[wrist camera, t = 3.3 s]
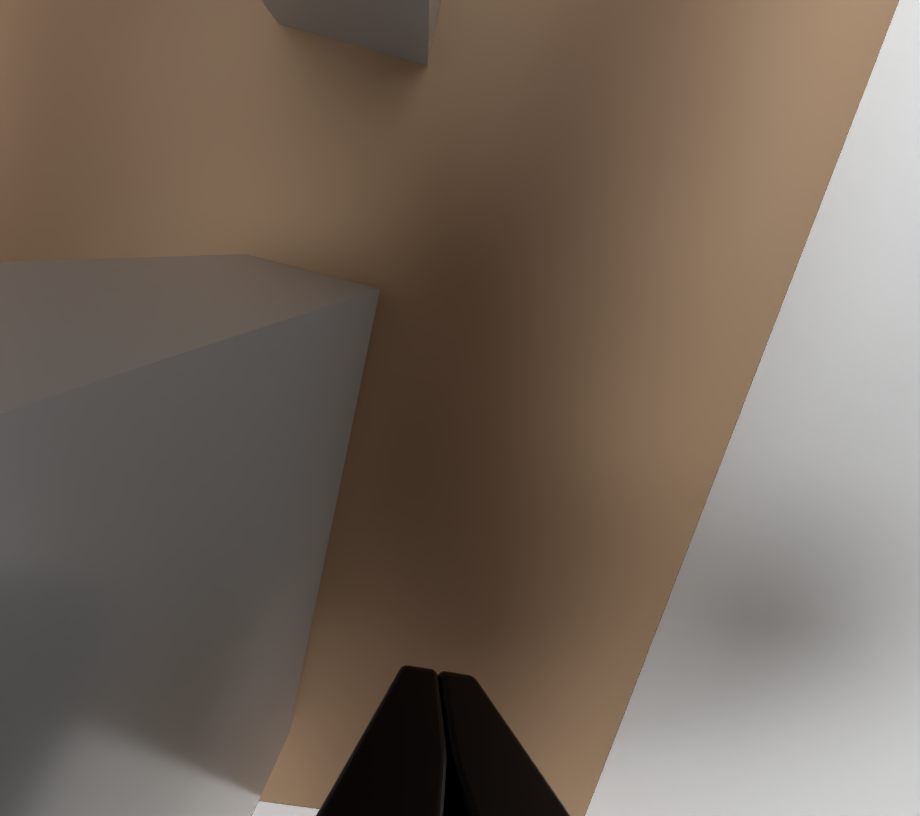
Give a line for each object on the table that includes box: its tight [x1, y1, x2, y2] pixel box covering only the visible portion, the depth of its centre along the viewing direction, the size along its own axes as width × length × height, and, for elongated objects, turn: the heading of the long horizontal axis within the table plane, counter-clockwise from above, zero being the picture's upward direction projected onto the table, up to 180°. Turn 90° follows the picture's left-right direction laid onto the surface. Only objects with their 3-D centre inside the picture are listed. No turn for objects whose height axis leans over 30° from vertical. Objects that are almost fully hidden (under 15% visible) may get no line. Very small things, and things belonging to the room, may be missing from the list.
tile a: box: [0, 254, 380, 816], centre depth 6 cm, size 2×8×8 cm, turn 166°
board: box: [0, 0, 899, 816], centre depth 9 cm, size 20×22×1 cm
